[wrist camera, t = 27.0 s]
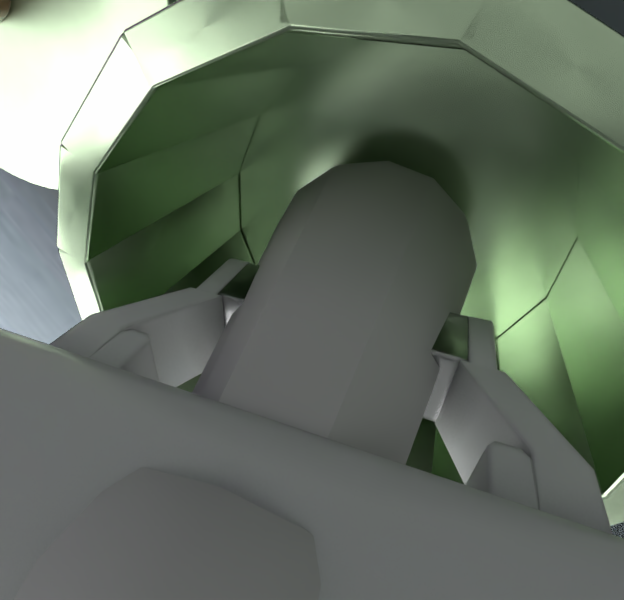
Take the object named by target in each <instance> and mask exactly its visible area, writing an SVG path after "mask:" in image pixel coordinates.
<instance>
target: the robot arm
mask: <svg viewBox="0 0 624 600" xmlns="http://www.w3.org/2000/svg"><path fill="white" fill-rule="evenodd" d="M259 266H260V265H257V264H254V263H250V262H246V261H242V260H238V259H229V260H227V261H226V262H225V263H224V264H223V265H222V266H221V267H220V268H218V269H217V270H216V271H215V272H214V273H213V274H212V275H211V276H210V277H209V278H207V279H206V280H205V281H204V282H203V283H202V284H201V285H200V286H199V287H197V288H196V289H195V288H191V287H190V288H186V289H182V290H179V291H175V292H171V293H168V294H164V295H160V296H157V297H153V298H149V299H146V300H142V301H138V302H135V303H131V304H127V305H124V306H120V307H116V308H113V309H109V310H105V311H102V312H98V313H94V314H91V315H89V316H88V317H86V318H85V319H84V320H82V321H81V322H79V323H78V324H77V325H75V326H74V327H73V328H71V329H70V330H68V331H67V332H66V333H64V334H63V335H62V336H60V337H59V338H57V339H56V340H55V341H53V342H52V343H50V344H46V343H43V342H40V341H37V340H34V339H31V338H28V337H25V336H22V335H19V334H16V333H13V332H10V331H7V330H4V329H1V328H0V600H13V599H14V598H15V596H16V594H17V593H18V591H19V589H20V588H21V586H22V584H23V582H24V581H25V579H26V577H27V576H28V574H29V572H30V571H31V569H32V567H33V566H34V564H35V562H36V560H37V559H38V558H39V557H40V556H41V555H42V554H43V553H44V552H45V551H46V550H47V549H48V548H49V547H50V545H51V544H52V543H53V542H54V541H55V540H56V539H57V538H58V537H59V536H60V535H61V534H62V533H63V532H64V531H65V530H66V529H67V528H68V527H69V525H70V524H71V523H72V522H73V521H74V520H75V519H76V518H77V517H78V516H79V515H80V514H81V513H82V512H83V511H84V510H85V509H86V508H87V506H88V505H89V504H90V503H91V502H92V501H93V500H94V499H95V498H96V497H97V496H98V495H99V494H100V493H101V492H102V491H103V490H105V489H107V488H108V487H110V486H111V485H113V484H115V483H116V482H118V481H119V480H121V479H123V478H124V477H126V476H128V475H129V474H131V473H132V472H134V471H136V470H137V469H139V468H141V467H145V468H149V469H152V470H156V471H160V472H164V473H168V474H172V475H176V476H180V477H184V478H188V479H192V480H196V481H200V482H204V483H208V484H212V485H216V486H219V487H221V488H223V489H225V490H227V491H229V492H231V493H233V494H235V495H237V496H239V497H241V498H243V499H245V500H247V501H249V502H251V503H253V504H255V505H257V506H259V507H261V508H263V509H265V510H267V511H269V512H271V513H273V514H275V515H277V516H279V517H281V518H283V519H285V520H287V521H289V522H291V523H293V524H295V525H297V526H299V527H301V528H304V529H306V530H307V531H308V532H309V533H311V534H312V535H313V536H314V541H315V548H316V554H317V561H318V568H319V574H320V581H321V588H320V594H319V599H318V600H624V538H621V537H618V536H615V535H613V534H612V530H611V527H610V523H609V520H608V516H607V513H606V509H605V506H604V502H603V499H602V495H601V492H600V488H599V485H598V481H597V478H596V474H595V471H594V469H593V468H592V467H591V466H590V465H589V464H588V463H587V461H586V460H585V459H584V458H583V457H582V456H581V455H580V454H579V453H578V452H577V451H576V449H575V448H574V447H573V446H572V445H571V444H570V443H569V442H568V441H567V440H566V438H565V437H564V436H563V435H562V434H561V433H560V432H559V431H558V430H557V429H556V428H555V426H554V425H553V424H552V423H551V422H550V421H549V420H548V419H547V418H546V417H545V415H544V414H543V413H542V412H541V411H540V410H539V409H538V408H537V407H536V406H535V405H534V403H533V402H532V401H531V400H530V399H529V398H528V397H527V396H526V395H525V394H524V392H523V391H522V390H521V389H520V388H519V387H518V386H517V385H516V384H515V383H514V382H513V380H512V379H511V378H510V377H509V376H508V375H507V374H506V373H505V372H503V371H500V370H497V359H496V348H495V336H494V325H493V323H492V321H489V320H484V319H480V318H475V317H470V316H465V315H460V314H455V313H451V312H450V313H449V315H448V317H447V319H446V321H445V323H444V325H443V327H442V329H441V331H440V333H439V335H438V337H437V339H436V341H435V343H434V345H433V347H432V349H431V354H432V356H433V358H434V360H435V361H436V363H437V365H438V366H439V368H440V370H439V373H438V376H437V379H436V381H435V384H434V387H433V390H432V393H431V395H430V398H429V401H428V404H427V406H426V409H425V412H424V415H423V418H425V419H428V420H431V421H434V422H435V425H436V427H437V429H438V431H439V433H440V435H441V437H442V439H443V441H444V444H445V446H446V448H447V450H448V452H449V454H450V456H451V458H452V460H453V462H454V464H455V466H456V468H457V470H458V472H459V474H460V477H461V479H462V481H463V483H464V484H461V483H458V482H455V481H452V480H449V479H446V478H443V477H440V476H437V475H434V474H431V473H428V472H425V471H422V470H419V469H416V468H413V467H410V466H407V465H404V464H401V463H398V462H396V461H393V460H390V459H387V458H384V457H381V456H378V455H375V454H372V453H369V452H366V451H363V450H360V449H357V448H354V447H351V446H348V445H345V444H342V443H339V442H336V441H333V440H330V439H327V438H324V437H321V436H318V435H316V434H313V433H310V432H307V431H304V430H301V429H298V428H295V427H292V426H289V425H286V424H283V423H280V422H277V421H274V420H271V419H268V418H265V417H262V416H259V415H256V414H253V413H251V412H248V411H245V410H242V409H239V408H236V407H233V406H230V405H227V404H224V403H221V402H218V401H215V400H212V399H209V398H206V397H203V396H200V395H197V394H194V393H191V392H188V391H185V390H182V389H179V388H176V387H177V386H179V385H181V384H183V383H185V382H186V381H188V380H190V379H192V378H194V377H196V376H198V375H199V374H201V373H202V372H203V370H204V368H205V366H206V364H207V362H208V360H209V358H210V356H211V354H212V352H213V350H214V349H215V347H216V345H217V343H218V341H219V339H220V337H221V335H222V333H223V331H224V329H225V327H226V325H227V323H228V321H229V319H230V317H231V315H232V314H233V313H234V312H235V311H236V310H237V309H238V308H239V307H240V306H241V305H242V303H243V301H244V299H245V297H246V295H247V293H248V291H249V288H250V286H251V284H252V282H253V280H254V278H255V275H256V273H257V271H258V269H259Z"/></svg>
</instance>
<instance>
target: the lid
mask: <svg viewBox="0 0 624 600" xmlns="http://www.w3.org/2000/svg"><path fill="white" fill-rule="evenodd" d="M175 1H177V0H0V168H2V169H4V170H5V171H7V172H9V173H11V174H12V175H14V176H17V177H19V178H21V179H23V180H26V181H28V182H30V183H33V184H36V185H40V186H43V187H46V188H50V189H57V190H58V185H59V155H60V145H61V144H62V143H61V140H62V138H63V136H64V134H65V133H66V131H67V129H68V127H69V126H70V124H71V122H72V120H73V118H74V117H75V115H76V113H77V111H78V110H79V108H80V106H81V104H82V102H83V101H84V99H85V97H86V95H87V94H88V92H89V90H90V88H91V87H92V85H93V83H94V81H95V79H96V78H97V76H98V74H99V72H100V71H101V69H102V67H103V65H104V63H105V62H106V60H107V58H108V56H109V55H110V53H111V51H112V49H113V47H114V46H115V44H116V42H117V40H118V39H119V37H120V35H121V34H122V33H124V30H125V29H126V28H128V27H130V26H132V25H133V24H135V23H137V22H139V21H141V20H143V19H144V18H146V17H148V16H150V15H152V14H153V13H155V12H157V11H159V10H161V9H163V8H164V7H166V6H168V5H170V4H172V3H174V2H175Z"/></svg>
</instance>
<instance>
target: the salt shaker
mask: <svg viewBox="0 0 624 600" xmlns="http://www.w3.org/2000/svg"><path fill="white" fill-rule="evenodd" d="M257 265H260V266H259V269H258V271H257V273H256V275H255V278H254V280H253V282H252V284H251V286H250V288H249V291H248V293H247V295H246V297H245V299H244V301H243V303H242V305H241V306H240V307H239V308H238V309H237V310H236V311H235V312H234V313H233V314H232V315H231V317H230V319H229V321H228V323H227V325H226V327H225V329H224V331H223V333H222V335H221V337H220V339H219V341H218V343H217V345H216V347H215V349H214V350H213V352H212V354H211V356H210V358H209V360H208V362H207V364H206V366H205V368H204V370H203V372H202V374H201V376H200V378H199V380H198V382H197V384H196V386H195V388H194V390H193V392H192V393H194V394H197V395H200V396H203V397H206V398H209V399H212V400H215V401H218V402H221V403H224V404H227V405H230V406H233V407H236V408H239V409H242V410H245V411H248V412H251V413H253V414H256V415H259V416H262V417H265V418H268V419H271V420H274V421H277V422H280V423H283V424H286V425H289V426H292V427H295V428H298V429H301V430H304V431H307V432H310V433H313V434H316V435H318V436H321V437H324V438H327V439H330V440H333V441H336V442H339V443H342V444H345V445H348V446H351V447H354V448H357V449H360V450H363V451H366V452H369V453H372V454H375V455H378V456H381V457H384V458H387V459H390V460H393V461H396V462H398V463H401V464H404V465H406V462H407V459H408V456H409V454H410V451H411V448H412V445H413V443H414V440H415V437H416V434H417V431H418V429H419V426H420V423H421V420H422V418H423V415H424V412H425V409H426V406H427V404H428V401H429V398H430V395H431V393H432V390H433V387H434V384H435V381H436V379H437V376H438V373H439V370H440V368H439V366H438V365H437V363H436V361H435V360H434V358H433V356H432V354H431V349H432V347H433V345H434V343H435V341H436V339H437V337H438V335H439V333H440V331H441V329H442V327H443V325H444V323H445V321H446V319H447V317H448V315H449V313H450V312H451V313H455V314H460V313H461V310H462V308H463V305H464V302H465V299H466V296H467V294H468V291H469V288H470V285H471V282H472V279H473V276H474V273H475V271H476V268H477V263H476V258H475V254H474V249H473V244H472V240H471V235H470V230H469V225H468V221H467V218H466V216H465V214H464V213H463V212H462V210H461V209H460V208H459V207H458V206H457V205H456V203H455V202H454V201H453V200H452V199H451V198H450V197H449V195H448V194H447V193H446V192H445V191H444V190H443V189H442V187H441V186H440V185H439V184H438V183H437V182H436V180H435V179H434V178H431V177H429V176H426V175H424V174H421V173H419V172H416V171H414V170H411V169H408V168H406V167H403V166H401V165H398V164H396V163H393V162H390V161H377V162H363V163H350V164H340V165H337V166H334V167H332V168H331V169H329V170H328V171H326V172H325V173H323V174H322V175H320V176H319V177H317V178H316V179H314V180H313V181H311V182H310V183H308V184H307V185H305V186H304V187H302V188H301V189H299V190H298V191H297V192H296V194H295V196H294V197H293V199H292V201H291V203H290V204H289V206H288V208H287V210H286V211H285V213H284V215H283V217H282V218H281V220H280V222H279V224H278V225H277V227H276V229H275V231H274V233H273V235H272V237H271V239H270V241H269V243H268V245H267V247H266V249H265V251H264V253H263V255H262V257H261V259H260V260H259V262H258V264H257ZM320 588H321V581H320V574H319V568H318V561H317V554H316V548H315V541H314V536H313V535H312V534H311V533H309V532H308V531H307V530H306V529H304V528H301V527H299V526H297V525H295V524H293V523H291V522H289V521H287V520H285V519H283V518H281V517H279V516H277V515H275V514H273V513H271V512H269V511H267V510H265V509H263V508H261V507H259V506H257V505H255V504H253V503H251V502H249V501H247V500H245V499H243V498H241V497H239V496H237V495H235V494H233V493H231V492H229V491H227V490H225V489H223V488H221V487H219V486H216V485H212V484H208V483H204V482H200V481H196V480H192V479H188V478H184V477H180V476H176V475H172V474H168V473H164V472H160V471H156V470H152V469H149V468H145V467H141V468H139V469H137V470H136V471H134V472H132V473H131V474H129V475H128V476H126V477H124V478H123V479H121V480H119V481H118V482H116V483H115V484H113V485H111V486H110V487H108V488H107V489H105V490H103V491H102V492H101V493H100V494H99V495H98V496H97V497H96V498H95V499H94V500H93V501H92V502H91V503H90V504H89V505H88V506H87V508H86V509H85V510H84V511H83V512H82V513H81V514H80V515H79V516H78V517H77V518H76V519H75V520H74V521H73V522H72V523H71V524H70V525H69V527H68V528H67V529H66V530H65V531H64V532H63V533H62V534H61V535H60V536H59V537H58V538H57V539H56V540H55V541H54V542H53V543H52V544H51V545H50V547H49V548H48V549H47V550H46V551H45V552H44V553H43V554H42V555H41V556H40V557H39V558H38V559H37V560H36V562H35V564H34V566H33V567H32V569H31V571H30V572H29V574H28V576H27V577H26V579H25V581H24V582H23V584H22V586H21V588H20V589H19V591H18V593H17V594H16V596H15V598H14V599H13V600H318V599H319V594H320Z"/></svg>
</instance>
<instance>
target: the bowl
mask: <svg viewBox="0 0 624 600" xmlns="http://www.w3.org/2000/svg"><path fill="white" fill-rule="evenodd" d="M61 143H62V144H61V145H60V155H59V185H58V215H57V244H56V245H57V247H58V251H59V254H60V257H61V260H62V263H63V266H64V269H65V272H66V275H67V278H68V281H69V284H70V287H71V290H72V293H73V296H74V299H75V301H76V304H77V307H78V310H79V313H80V316H81V319H82V320H84V319H85V318H86V317H88V316H89V315H91V314H94V313H98V312H102V311H105V310H109V309H113V308H116V307H120V306H124V305H127V304H131V303H135V302H138V301H142V300H146V299H149V298H153V297H157V296H160V295H164V294H168V293H171V292H175V291H179V290H182V289H186V288H190V287H191V288H195V289H196V288H197V287H199V286H200V285H201V284H202V283H203V282H204V281H205V280H206V279H207V278H209V277H210V276H211V275H212V274H213V273H214V272H215V271H216V270H217V269H218V268H220V267H221V266H222V265H223V264H224V263H225V262H226V261H227V260H229V259H238V260H242V261H246V262H250V263H254V264H258V262H259V260H260V259H261V257H262V255H263V253H264V251H265V249H266V247H267V245H268V243H269V241H270V239H271V237H272V235H273V233H274V231H275V229H276V227H277V225H278V224H279V222H280V220H281V218H282V217H283V215H284V213H285V211H286V210H287V208H288V206H289V204H290V203H291V201H292V199H293V197H294V196H295V194H296V192H297V191H298V190H299V189H301V188H302V187H304V186H305V185H307V184H308V183H310V182H311V181H313V180H314V179H316V178H317V177H319V176H320V175H322V174H323V173H325V172H326V171H328V170H329V169H331V168H332V167H334V166H337V165H340V164H350V163H363V162H377V161H390V162H393V163H396V164H398V165H401V166H403V167H406V168H408V169H411V170H414V171H416V172H419V173H421V174H424V175H426V176H429V177H431V178H434V179H435V180H436V182H437V183H438V184H439V185H440V186H441V187H442V189H443V190H444V191H445V192H446V193H447V194H448V195H449V197H450V198H451V199H452V200H453V201H454V202H455V203H456V205H457V206H458V207H459V208H460V209H461V210H462V212H463V213H464V214H465V216H466V218H467V221H468V225H469V230H470V235H471V240H472V244H473V249H474V254H475V258H476V263H477V268H476V271H475V273H474V276H473V279H472V282H471V285H470V288H469V291H468V294H467V296H466V299H465V302H464V305H463V308H462V310H461V313H460V315H465V316H470V317H475V318H480V319H484V320H489V321H492V323H493V325H494V336H495V348H496V359H497V370H500V371H503V372H505V373H506V374H507V375H508V376H509V377H510V378H511V379H512V380H513V382H514V383H515V384H516V385H517V386H518V387H519V388H520V389H521V390H522V391H523V392H524V394H525V395H526V396H527V397H528V398H529V399H530V400H531V401H532V402H533V403H534V405H535V406H536V407H537V408H538V409H539V410H540V411H541V412H542V413H543V414H544V415H545V417H546V418H547V419H548V420H549V421H550V422H551V423H552V424H553V425H554V426H555V428H556V429H557V430H558V431H559V432H560V433H561V434H562V435H563V436H564V437H565V438H566V440H567V441H568V442H569V443H570V444H571V445H572V446H573V447H574V448H575V449H576V451H577V452H578V453H579V454H580V455H581V456H582V457H583V458H584V459H585V460H586V461H587V463H588V464H589V465H590V466H591V467H592V468H593V469H594V471H595V474H596V478H597V481H598V485H599V488H600V492H601V495H602V499H603V502H604V506H605V509H606V513H607V516H608V520H609V523H610V527H611V526H614V525H617V524H620V523H623V522H624V35H622V34H620V33H619V32H617V31H616V30H614V29H613V28H611V27H610V26H608V25H607V24H605V23H604V22H602V21H601V20H599V19H598V18H596V17H595V16H593V15H592V14H590V13H589V12H587V11H586V10H584V9H582V8H581V7H579V6H578V5H576V4H575V3H573V2H572V1H570V0H177V1H175V2H174V3H172V4H170V5H168V6H166V7H164V8H163V9H161V10H159V11H157V12H155V13H153V14H152V15H150V16H148V17H146V18H144V19H143V20H141V21H139V22H137V23H135V24H133V25H132V26H130V27H128V28H126V29H125V30H124V33H122V34H121V35H120V37H119V39H118V40H117V42H116V44H115V46H114V47H113V49H112V51H111V53H110V55H109V56H108V58H107V60H106V62H105V63H104V65H103V67H102V69H101V71H100V72H99V74H98V76H97V78H96V79H95V81H94V83H93V85H92V87H91V88H90V90H89V92H88V94H87V95H86V97H85V99H84V101H83V102H82V104H81V106H80V108H79V110H78V111H77V113H76V115H75V117H74V118H73V120H72V122H71V124H70V126H69V127H68V129H67V131H66V133H65V134H64V136H63V138H62V140H61ZM201 374H202V373H201ZM201 374H199V375H198V376H196V377H194V378H192V379H190V380H188V381H186V382H185V383H183V384H181V385H179V386H177V387H176V388H179V389H182V390H185V391H188V392H191V393H192V392H193V390H194V388H195V386H196V384H197V382H198V380H199V378H200V376H201ZM406 465H407V466H410V467H413V468H416V469H419V470H422V471H425V472H428V473H431V474H434V475H437V476H440V477H443V478H446V479H449V480H452V481H455V482H458V483H461V484H464V483H463V481H462V479H461V477H460V474H459V472H458V470H457V468H456V466H455V464H454V462H453V460H452V458H451V456H450V454H449V452H448V450H447V448H446V446H445V444H444V441H443V439H442V437H441V435H440V433H439V431H438V429H437V427H436V425H435V422H434V421H431V420H428V419H425V418H422V420H421V423H420V426H419V429H418V431H417V434H416V437H415V440H414V443H413V445H412V448H411V451H410V454H409V456H408V459H407V462H406Z"/></svg>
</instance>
